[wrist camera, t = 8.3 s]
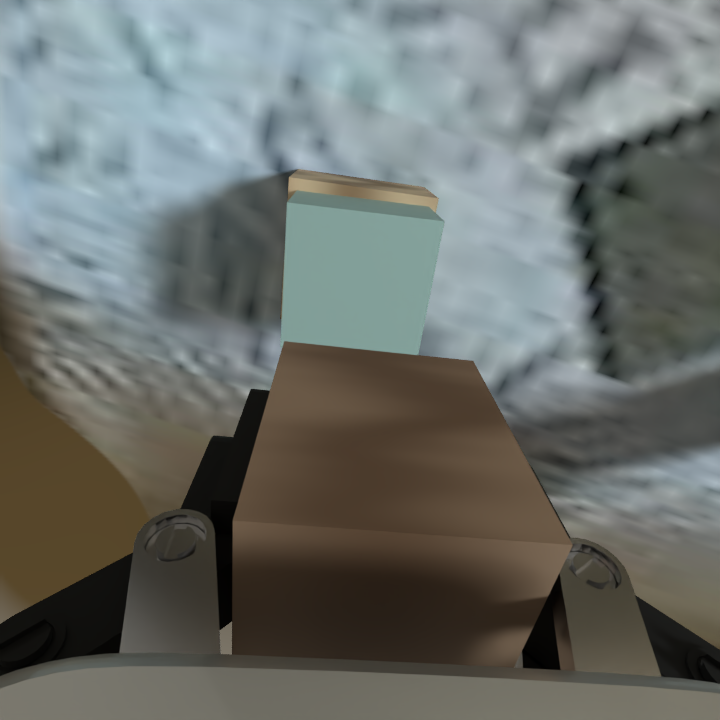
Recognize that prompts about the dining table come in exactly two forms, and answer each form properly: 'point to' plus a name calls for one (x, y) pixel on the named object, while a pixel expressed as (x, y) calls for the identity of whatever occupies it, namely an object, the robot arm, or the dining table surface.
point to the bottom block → (358, 190)
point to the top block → (358, 272)
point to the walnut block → (388, 516)
